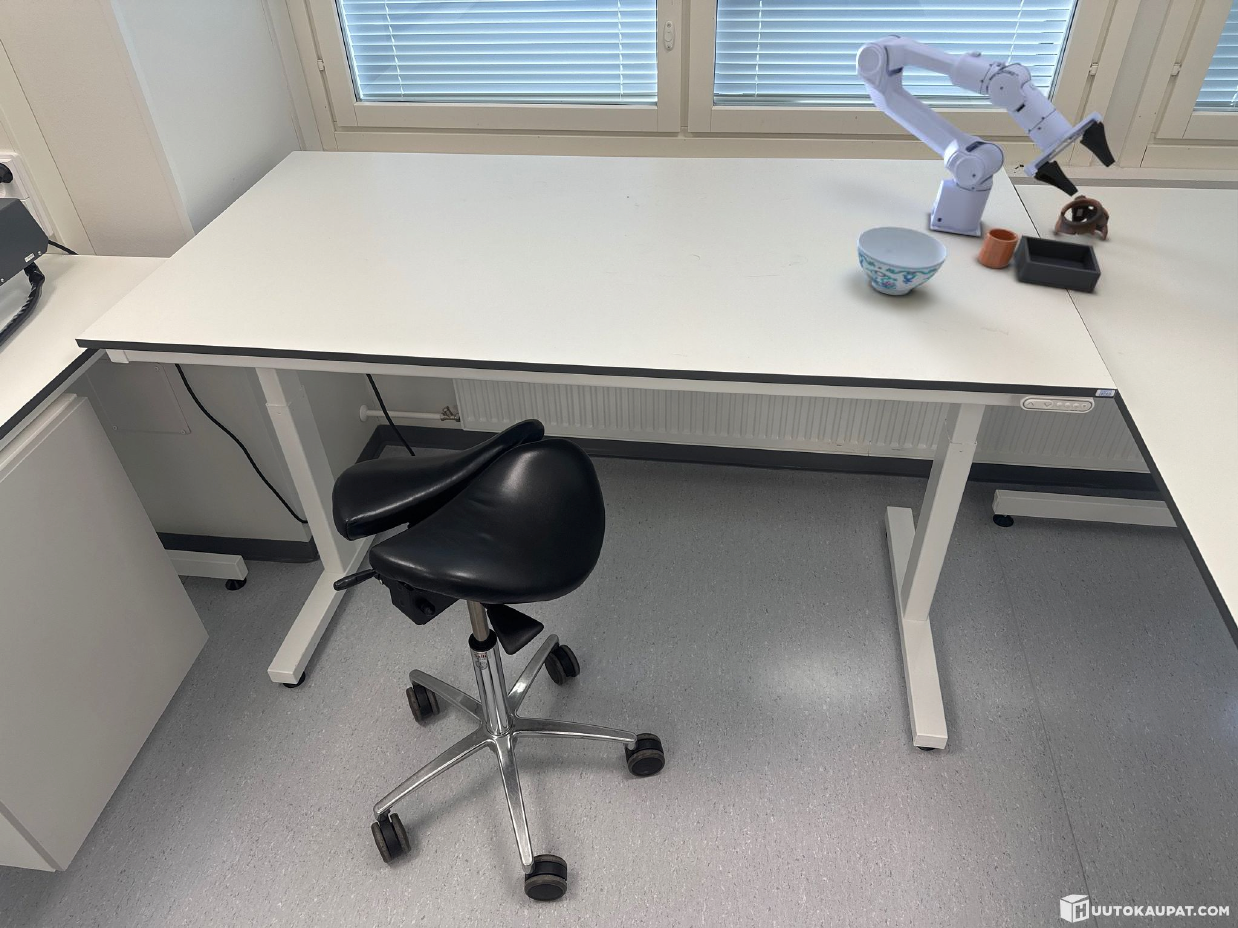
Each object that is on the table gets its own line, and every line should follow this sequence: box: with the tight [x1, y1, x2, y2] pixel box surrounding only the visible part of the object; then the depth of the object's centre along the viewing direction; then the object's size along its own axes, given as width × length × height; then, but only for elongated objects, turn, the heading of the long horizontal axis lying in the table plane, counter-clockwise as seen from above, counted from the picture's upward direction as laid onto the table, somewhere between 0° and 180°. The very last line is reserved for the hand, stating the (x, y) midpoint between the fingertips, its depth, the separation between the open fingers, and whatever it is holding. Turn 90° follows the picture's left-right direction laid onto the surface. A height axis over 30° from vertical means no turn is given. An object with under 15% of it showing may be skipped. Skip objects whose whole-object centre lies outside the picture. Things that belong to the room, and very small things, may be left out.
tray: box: [1014, 235, 1102, 294], centre depth 147 cm, size 12×11×4 cm
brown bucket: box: [977, 227, 1020, 269], centre depth 149 cm, size 6×6×6 cm
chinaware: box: [856, 226, 948, 296], centre depth 140 cm, size 15×15×8 cm
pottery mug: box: [1054, 194, 1110, 241], centre depth 159 cm, size 12×10×8 cm
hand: (1093, 179), depth 142 cm, fingers open, 7 cm apart
